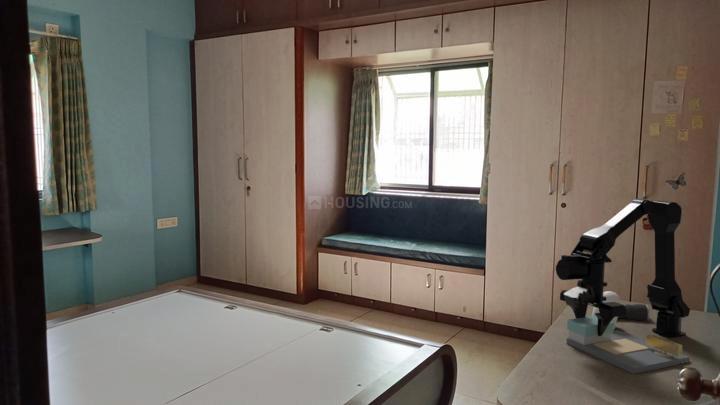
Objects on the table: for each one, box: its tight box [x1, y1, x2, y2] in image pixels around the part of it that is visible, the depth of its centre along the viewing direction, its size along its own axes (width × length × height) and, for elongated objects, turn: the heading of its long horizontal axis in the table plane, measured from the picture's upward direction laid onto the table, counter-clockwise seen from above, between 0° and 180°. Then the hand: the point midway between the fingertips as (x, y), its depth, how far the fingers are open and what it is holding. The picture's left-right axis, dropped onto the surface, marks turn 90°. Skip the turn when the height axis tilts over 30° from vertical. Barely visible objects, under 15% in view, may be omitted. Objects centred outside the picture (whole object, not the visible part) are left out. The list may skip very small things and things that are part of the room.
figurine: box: [591, 290, 621, 330], centre depth 157 cm, size 7×8×12 cm
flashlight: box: [617, 303, 650, 322], centre depth 166 cm, size 15×5×5 cm, turn 78°
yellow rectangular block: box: [646, 333, 683, 357], centre depth 133 cm, size 2×9×4 cm, turn 22°
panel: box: [565, 329, 690, 375], centre depth 138 cm, size 20×22×4 cm
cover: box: [566, 315, 615, 337], centre depth 143 cm, size 10×7×3 cm, turn 112°
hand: (589, 332), depth 144 cm, fingers closed on cover, 6 cm apart
